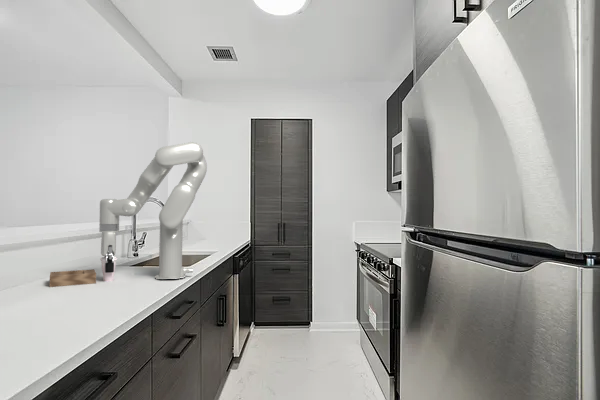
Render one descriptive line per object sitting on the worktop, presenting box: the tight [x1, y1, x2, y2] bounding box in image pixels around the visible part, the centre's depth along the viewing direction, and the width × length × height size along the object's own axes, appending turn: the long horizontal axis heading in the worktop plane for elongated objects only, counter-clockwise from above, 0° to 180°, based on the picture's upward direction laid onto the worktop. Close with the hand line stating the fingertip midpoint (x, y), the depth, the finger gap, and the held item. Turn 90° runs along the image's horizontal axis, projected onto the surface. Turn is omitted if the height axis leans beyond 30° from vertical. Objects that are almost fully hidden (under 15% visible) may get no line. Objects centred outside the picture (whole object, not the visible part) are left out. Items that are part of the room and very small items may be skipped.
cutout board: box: [49, 268, 97, 288], centre depth 166 cm, size 16×12×4 cm
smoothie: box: [100, 256, 118, 283], centre depth 171 cm, size 6×6×14 cm
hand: (108, 270), depth 171 cm, fingers closed on smoothie, 6 cm apart
